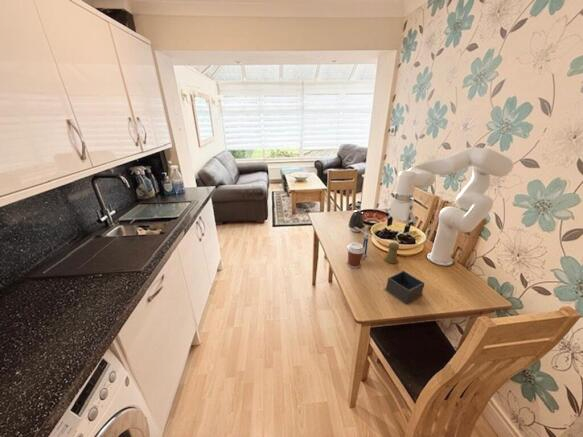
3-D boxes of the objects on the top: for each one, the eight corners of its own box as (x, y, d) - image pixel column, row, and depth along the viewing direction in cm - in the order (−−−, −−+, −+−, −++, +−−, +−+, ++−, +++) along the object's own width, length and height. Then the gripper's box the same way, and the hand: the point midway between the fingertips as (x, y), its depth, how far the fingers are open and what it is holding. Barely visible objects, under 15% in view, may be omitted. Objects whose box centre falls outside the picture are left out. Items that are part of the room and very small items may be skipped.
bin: (400, 281, 118) (403, 270, 115) (421, 294, 109) (424, 283, 107) (385, 289, 113) (388, 277, 110) (406, 303, 104) (409, 291, 101)
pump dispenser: (364, 233, 165) (367, 213, 159) (349, 233, 165) (351, 213, 159) (360, 227, 174) (363, 208, 168) (346, 227, 175) (348, 208, 169)
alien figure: (346, 249, 146) (349, 220, 139) (352, 247, 149) (356, 218, 141) (371, 265, 130) (376, 234, 123) (378, 262, 133) (383, 232, 125)
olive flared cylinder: (395, 264, 132) (399, 247, 127) (384, 261, 134) (387, 244, 130) (397, 259, 136) (401, 242, 132) (386, 256, 139) (389, 239, 135)
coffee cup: (363, 270, 127) (365, 250, 122) (345, 268, 128) (347, 249, 124) (361, 260, 135) (364, 242, 130) (345, 258, 137) (347, 240, 132)
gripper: (425, 200, 109) (417, 233, 116) (392, 191, 123) (387, 221, 130) (415, 203, 106) (408, 237, 112) (383, 193, 119) (378, 224, 126)
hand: (397, 228), depth 121 cm, fingers open, 9 cm apart
